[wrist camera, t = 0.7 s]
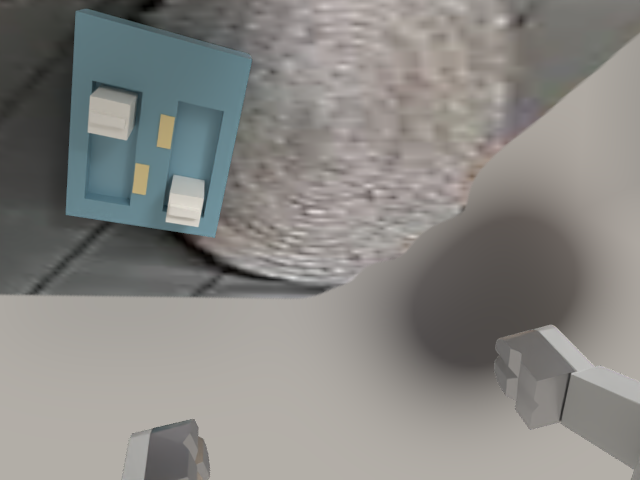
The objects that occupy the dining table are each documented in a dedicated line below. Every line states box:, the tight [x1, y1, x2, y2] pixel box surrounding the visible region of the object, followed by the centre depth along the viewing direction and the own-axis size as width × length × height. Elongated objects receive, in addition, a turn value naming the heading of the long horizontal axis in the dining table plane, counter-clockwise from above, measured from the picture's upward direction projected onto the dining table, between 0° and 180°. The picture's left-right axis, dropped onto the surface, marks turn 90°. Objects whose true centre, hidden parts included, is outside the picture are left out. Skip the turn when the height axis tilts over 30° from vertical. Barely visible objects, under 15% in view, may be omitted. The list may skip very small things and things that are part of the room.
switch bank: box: [66, 9, 252, 238], centre depth 43 cm, size 18×14×4 cm
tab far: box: [165, 175, 205, 227], centre depth 44 cm, size 3×3×5 cm
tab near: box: [88, 85, 138, 140], centre depth 39 cm, size 3×3×5 cm
